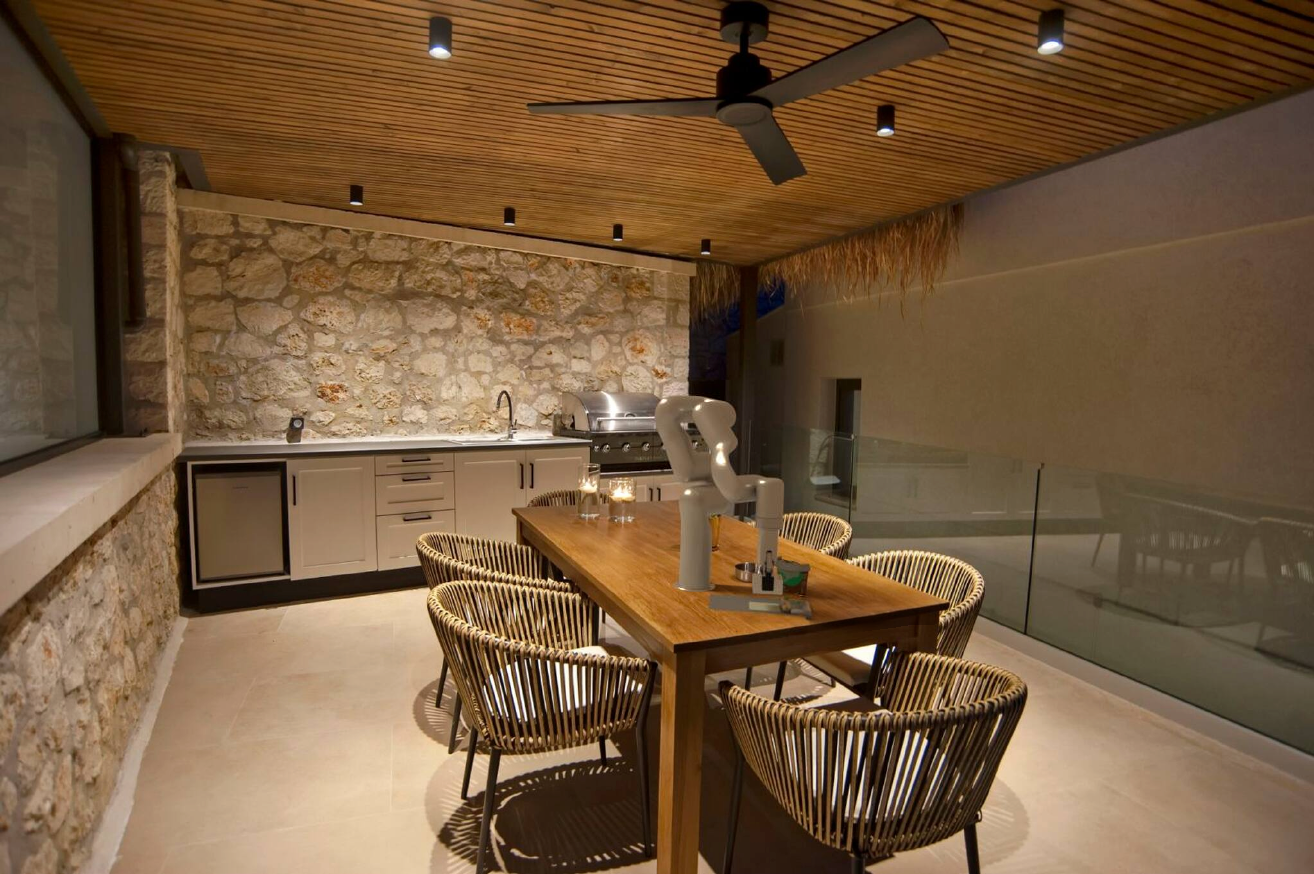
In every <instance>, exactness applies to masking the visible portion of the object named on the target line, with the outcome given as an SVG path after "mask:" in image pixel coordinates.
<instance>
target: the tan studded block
mask: <svg viewBox="0 0 1314 874" xmlns="http://www.w3.org/2000/svg"><path fill="white" fill-rule="evenodd" d="M762 576H763V574H761V573H752V580H751V581H752V583H751V587H752V588H751V589H752V594H758V595H759V594H761V595H780V596H781V595H782V596H783V595H784V594H783V592H784V591H783V579H782V575H781V574H777V573H776V574H775V573H774V591H762Z"/></svg>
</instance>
